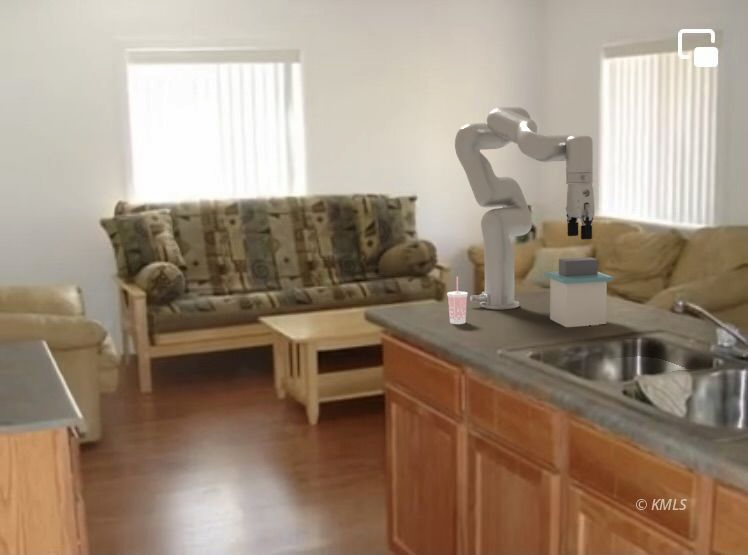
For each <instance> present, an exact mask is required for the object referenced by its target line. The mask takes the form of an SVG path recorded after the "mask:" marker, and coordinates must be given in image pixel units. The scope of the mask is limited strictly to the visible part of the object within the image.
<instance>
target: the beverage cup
mask: <svg viewBox="0 0 748 555" xmlns="http://www.w3.org/2000/svg"><path fill="white" fill-rule="evenodd" d="M446 295H447V298H448V301H447V302H448V312H449V313H448V314H449V323H450V324H451V325H452V324H453V325H463V324H465V323H466V319H467V318H466V317H467V300H468V299H467V298H468V292H466V291H459V276H457V275H456V290H454V291H449V292H447V293H446Z"/></svg>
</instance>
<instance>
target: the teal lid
mask: <svg viewBox="0 0 748 555" xmlns="http://www.w3.org/2000/svg"><path fill="white" fill-rule="evenodd" d="M598 261H599V259H597V258H595V257H591V256H590V257H572V258H571V257H569V258H559V259H558V271H557V270H556V271H544V277H547V278H549V279H550V278H551V279H553V280H556V281H558V282H560V283H563V284H571V283H588V282H604V281H607V282H614V277H613V276H611V275H610V274H609V275H608V274H605V273H603V272H600V271H598V269H599V268H598V266H599V265H598V264H599V262H598Z"/></svg>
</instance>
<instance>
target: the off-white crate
mask: <svg viewBox="0 0 748 555" xmlns="http://www.w3.org/2000/svg"><path fill="white" fill-rule="evenodd" d="M549 279H550V280H549V290H550V292H549V319H550V320H551V321H553V322H555V323H556V324H559V325H560V326H563V327H565V328H575V327H587V326H588V327H589V325H591V326H600V325H599V324H606V325H607V292H608V291H607V288H608V287H607V286H608V285H607V284H608V281H604V282H588V283H571V284H563V283H560V282H558V281H556V280H553V279H551V278H549Z"/></svg>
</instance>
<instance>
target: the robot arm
mask: <svg viewBox="0 0 748 555" xmlns="http://www.w3.org/2000/svg"><path fill="white" fill-rule="evenodd" d="M510 143H514V144H516V145H517V147H518V148H519V150H520V152H521V153H522V154H524V155H526V156H527V157H529V158H532V159H534V160H536V161H538V162H543V163H549V162H565V173H566V174H565V176H566V178H565V179H566V181H565V182H566V185H567V189H566V190H567V192H566V206H565V211H566V221H567V228H566V229H567V236H568V237H577V236H579V222H578V219H580V222H581V225H580V239H581V240H592V239H593V223H594V222H593V221H594V217H595V213H596V212H595V195H594V188H593V184H594V183H593V182H594V180H593V174H594V173H593V172H594V171H593V168H594V167H593V164H594V163H593V161H594V160H593V158H594V157H593V155H594V154H593V153H594V152H593V150H594V149H593V146H594V145H593V139H592V136H590V135H568V134H567V135H566V134H565V135H564V134H562V135H558V134H557V135H542V134H540V133H538V126H537V123H536V121H534V120H533V119H531V116H530V114H529V112H528V111H527V110H526V109H525V108H523V107H519V106H518V107H517V106H513V107H510V106H508V107H497V108H494V109H493V110H491V111H490V112H489V113H488V115H487V117H486V122H478V123H477V122H475V123H469V124H465V125H463V126H461V127H460V128H459V129H458V130H457V132H456V135H455V139H454V150H455V153H456V156H457V159H458V161H459V162H460V164H461V167H462V168H463V170H464V172H465V174H466V178H467V180H468V182H469V185H470V188H471V192H472V193H473V196H474V198H475V201H476V203H477V204H478V205H479V206H480V207H482V208H492V209H490V210H488V211H486V212H485V213H484V214H483V216H482V217H481V220H480V228H481V229H480V230H481V233H482V234H481V235H482V237H483V246H484V247H483V248H484V250H483V252H484V253H483V254H484V258H483V259H484V291H481V293H480V294H479V295H475V294H474V295H470V297H469V299H470V302H476V303H478V302H479V307H480V308H482V309H487V310H512V309H516V308H518V307H520V302H519V301H517V300H515V249H514V246H513V244H512V242H511V240H510V238H514V237H520V236H525V235H526V234H529V232H530V231H531V229H532V226H533V218H532V214H531V211H530V208H529V206H528V204H527V201H526V198H525V195H524V193H523V190H522V187H521V186H520V184H519V183H518V182H517V181H516V180H515V179H514V178H513V177H509V176H497V175H496V174H495V172H494V169H493V167H492V164H491V163H490V161H489V160H488V158H487V157H486V156H485V155H484V154H483V153H482V152H481V151H482V150H484V151H485V150H496V149H497V150H498V149H501V148H504V147H506V146H507V145H509V144H510ZM497 207H498V208H497Z"/></svg>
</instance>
